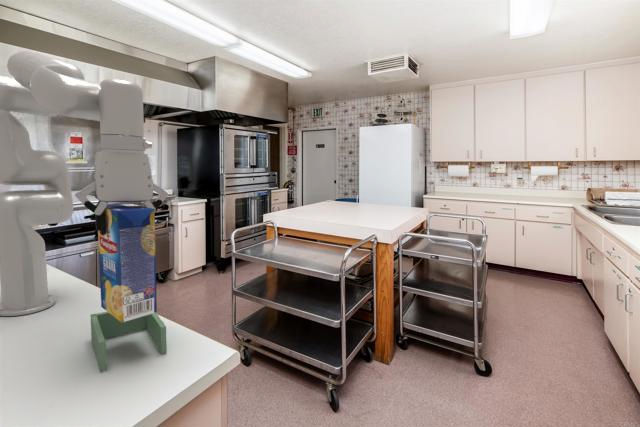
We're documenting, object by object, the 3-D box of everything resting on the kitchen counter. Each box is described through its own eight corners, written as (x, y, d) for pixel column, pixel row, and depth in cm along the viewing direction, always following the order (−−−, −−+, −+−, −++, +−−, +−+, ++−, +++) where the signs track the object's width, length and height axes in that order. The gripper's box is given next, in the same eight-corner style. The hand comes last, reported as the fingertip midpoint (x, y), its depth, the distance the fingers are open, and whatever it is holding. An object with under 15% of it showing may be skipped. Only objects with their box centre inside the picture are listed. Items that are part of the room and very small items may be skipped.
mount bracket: (91, 339, 77) (90, 314, 76) (149, 326, 84) (149, 303, 83) (100, 372, 65) (99, 342, 64) (166, 352, 73) (166, 326, 72)
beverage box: (134, 298, 78) (131, 203, 75) (156, 312, 71) (154, 208, 69) (101, 306, 73) (96, 205, 70) (121, 322, 66) (117, 211, 63)
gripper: (164, 149, 76) (165, 226, 78) (68, 143, 65) (72, 232, 67) (174, 148, 70) (175, 231, 73) (70, 141, 59) (75, 239, 62)
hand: (126, 231), depth 70 cm, fingers closed on beverage box, 7 cm apart
